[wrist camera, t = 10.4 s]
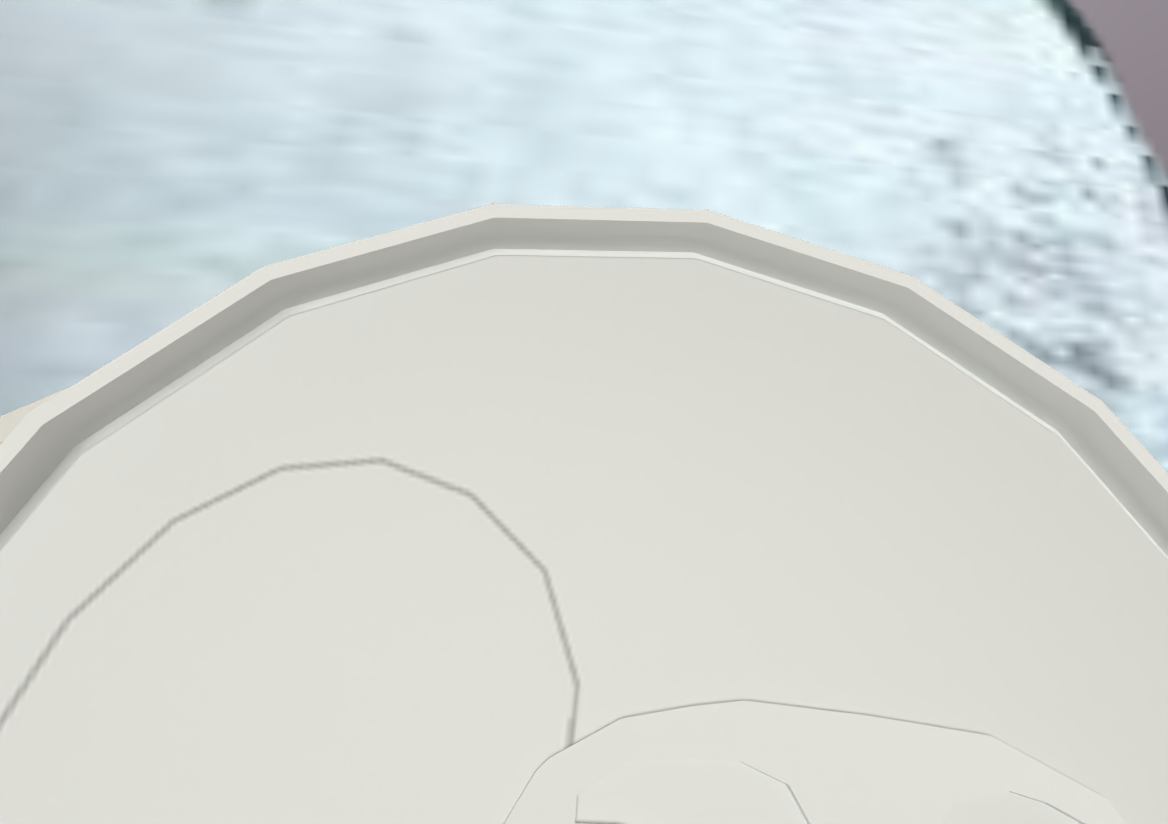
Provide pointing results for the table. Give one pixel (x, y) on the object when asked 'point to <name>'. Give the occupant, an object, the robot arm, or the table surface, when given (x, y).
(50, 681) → the supplement can
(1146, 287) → the table surface
